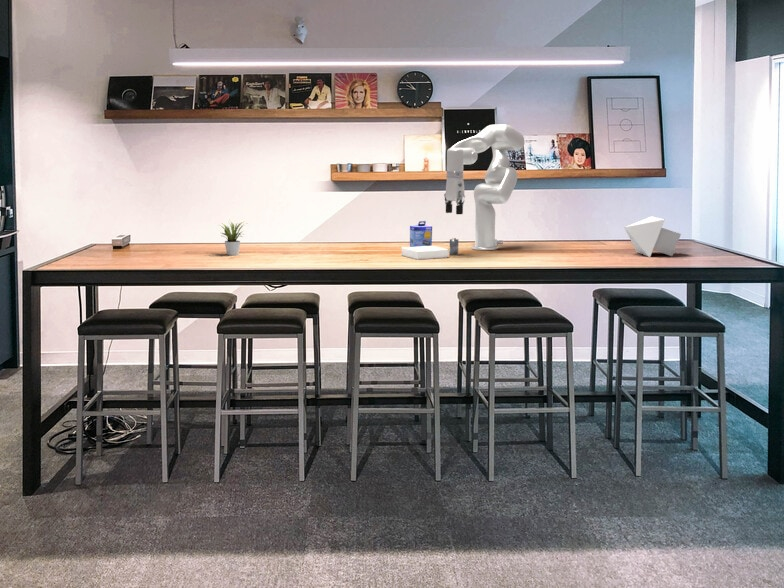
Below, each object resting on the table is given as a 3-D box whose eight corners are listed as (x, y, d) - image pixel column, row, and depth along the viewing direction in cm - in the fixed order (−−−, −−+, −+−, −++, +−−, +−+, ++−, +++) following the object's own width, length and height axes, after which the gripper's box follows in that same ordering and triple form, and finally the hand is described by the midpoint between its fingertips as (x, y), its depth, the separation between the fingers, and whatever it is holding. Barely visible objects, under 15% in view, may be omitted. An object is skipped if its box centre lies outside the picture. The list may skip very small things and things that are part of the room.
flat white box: (432, 253, 376) (432, 245, 375) (448, 257, 361) (448, 249, 361) (401, 255, 369) (401, 247, 368) (417, 259, 355) (417, 251, 354)
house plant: (254, 252, 379) (253, 218, 376) (246, 256, 365) (245, 220, 362) (225, 252, 380) (224, 217, 377) (216, 256, 367) (214, 220, 364)
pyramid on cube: (611, 243, 377) (625, 207, 374) (658, 259, 380) (672, 223, 377) (622, 248, 361) (637, 210, 358) (671, 264, 363) (686, 227, 360)
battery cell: (455, 253, 374) (455, 237, 373) (459, 254, 371) (460, 238, 369) (448, 254, 372) (448, 238, 371) (452, 255, 369) (452, 238, 368)
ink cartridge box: (414, 252, 380) (414, 221, 377) (408, 251, 385) (409, 220, 382) (432, 251, 384) (432, 220, 381) (427, 249, 389) (427, 220, 386)
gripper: (471, 176, 359) (470, 214, 362) (452, 175, 374) (452, 212, 377) (457, 176, 356) (456, 215, 359) (438, 175, 371) (437, 212, 374)
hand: (454, 213), depth 368 cm, fingers open, 9 cm apart
